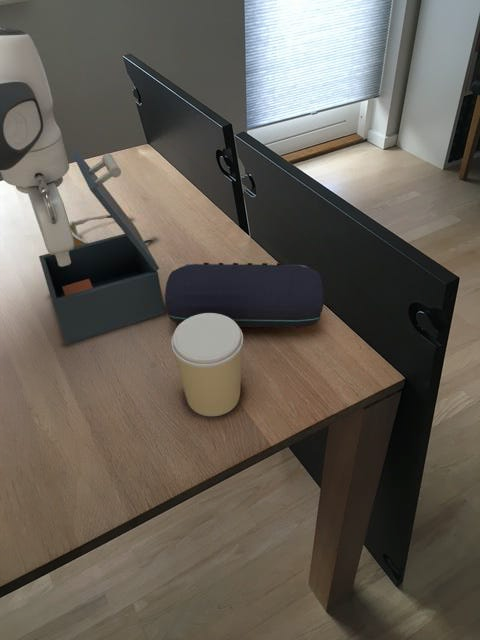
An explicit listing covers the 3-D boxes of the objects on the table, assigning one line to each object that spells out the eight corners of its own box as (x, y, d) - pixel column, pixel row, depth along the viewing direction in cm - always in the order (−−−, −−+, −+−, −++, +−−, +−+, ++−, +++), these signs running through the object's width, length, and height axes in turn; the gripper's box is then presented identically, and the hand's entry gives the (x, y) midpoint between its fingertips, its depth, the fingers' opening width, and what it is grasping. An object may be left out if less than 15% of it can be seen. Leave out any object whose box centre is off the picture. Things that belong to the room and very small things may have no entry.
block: (74, 323, 89) (67, 302, 86) (68, 307, 92) (61, 286, 89) (101, 314, 90) (95, 293, 87) (94, 299, 93) (88, 278, 90)
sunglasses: (59, 240, 109) (56, 218, 106) (126, 224, 117) (125, 203, 114) (88, 273, 100) (86, 250, 97) (159, 253, 108) (159, 231, 105)
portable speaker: (320, 300, 92) (324, 252, 86) (323, 340, 85) (327, 291, 78) (175, 298, 94) (168, 251, 87) (166, 338, 87) (157, 289, 80)
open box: (67, 344, 86) (52, 302, 81) (52, 296, 96) (38, 255, 90) (165, 313, 91) (157, 272, 85) (142, 271, 101) (134, 230, 95)
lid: (89, 189, 72) (119, 169, 72) (70, 151, 82) (96, 133, 82) (155, 271, 85) (180, 254, 85) (132, 229, 94) (154, 214, 94)
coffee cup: (254, 379, 79) (252, 318, 71) (233, 428, 73) (228, 368, 65) (195, 365, 82) (187, 305, 74) (170, 412, 75) (158, 352, 67)
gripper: (72, 188, 66) (95, 278, 75) (44, 129, 80) (66, 211, 89) (19, 199, 64) (49, 290, 73) (0, 137, 78) (27, 220, 87)
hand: (58, 247), depth 81 cm, fingers open, 8 cm apart
